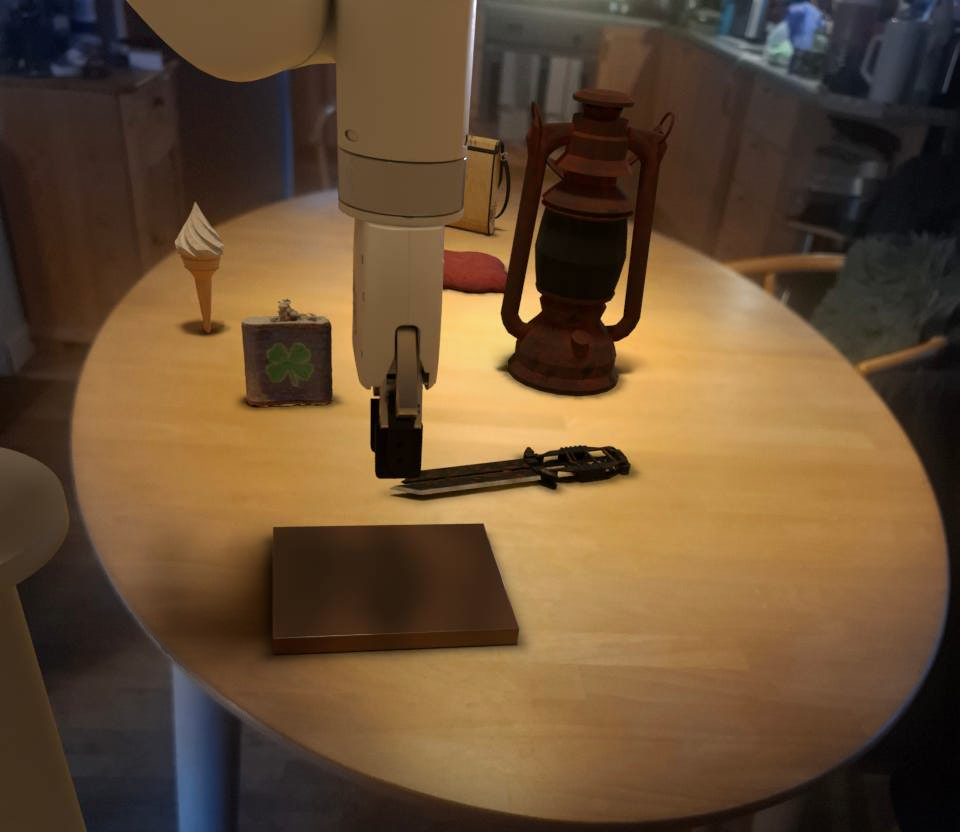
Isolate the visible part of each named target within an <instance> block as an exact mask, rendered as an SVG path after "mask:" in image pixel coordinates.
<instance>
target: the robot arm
mask: <svg viewBox="0 0 960 832" xmlns="http://www.w3.org/2000/svg"><path fill="white" fill-rule="evenodd" d="M125 1H126V2H127V3H128V5H130V7H131V8H132V9H133V10H134V11H135V12H136V13H137V14H138V16H139V17H140V18H141V19H142V20H143V21H144V22H145V24H146V25H148V27H149V28H151V30H152V31H153V32H154V33H155V34H156V35H157V36H158V37H159V38H160V39H161V40H162V41H164V42H165V44H167V45H168V46H169V47H170V48H171V49H172V50H173V51H174V52H175V53H176V54H178V55H179V56H180V57H181V58H183V59H184V60H186V62H188V63H190V64H191V65H193V66H194V67H195V68H197V69H199V70H200V71H202V72H204V73H206V74H208V75H210V76H213V77H215V78H217V79H220V80H224V81H230V82H235V83H247V82H255V81H257V80H262V79H265V78H269V77H271V76H273V75H277V74H279V73H281V72H285V71H289V70H295V69H298V68H303V67H306V66H309V65H320V64H321V65H323V64H335V79H336V80H335V81H336V83H335V84H336V86H335V87H336V88H335V89H336V142H337V143H336V145H337V147H336V148H337V149H336V150H337V197H338V198H337V201H338V202H337V203H338V210H339V211H341V213H342V214H344V215H346V216H348V217H350V218H353V219H354V222H353V223H354V224H353V225H354V226H353V245H352V246H353V247H352V322H351V323H352V327H351V342H352V343H351V344H352V352H353V357H354V363H355V369H356V374H357V379H358V382H359V384H360V385H361V387H363V388H364V389H365V390H367V391H370V390H372V395H373V397H370V399H369V401H370V402H369V403H370V404H369V405H370V408H369V409H370V412H369V414H370V417H369V418H370V419H369V422H370V425H369V428H370V429H369V430H370V431H369V445H370V446H369V447H370V450H371V452H372V453H374V474H375V477H376V478H377V479H378V480H400V479H402V480H404V479H415V478H418V477H420V475H421V470H422V459H423V438H424V424H423V421H422V420H423V394H424V393H423V392H424V391H423V389H425V390H426V391H428V390H430V389H431V388H433V387H434V386H435V384H436V383H437V379H438V372H439V371H438V370H439V361H440V351H441V350H440V347H441V332H442V331H441V330H442V314H443V312H442V311H443V294H444V293H443V292H444V291H443V290H444V288H443V266H444V249H445V226H447V225H448V224H452V223H455V222H457V221H459V220H460V219H461V218H462V217H463V208H464V207H463V205H464V191H465V175H466V160H467V156H466V154H467V144H468V135H469V128H470V127H469V125H470V109H471V94H472V83H473V82H472V81H473V65H474V51H475V36H476V35H475V34H476V20H477V7H478V4H477V3H478V0H125ZM448 226H449V225H448Z"/></svg>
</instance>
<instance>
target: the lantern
mask: <svg viewBox="0 0 960 832" xmlns="http://www.w3.org/2000/svg"><path fill="white" fill-rule="evenodd" d="M572 100H573V101H575V102H578V103H581V106H582V111H579V112H574V113H572V116H571V117H572V118H571V122H570V121H569V122H568V121H567V122H565V121H564V122H545V123H544V118H543V117H542V114H541V109H540V107H539V104H538V102H537V101H536V99H535V100H532V101H531V104H530V109H531V118H532V122H531V124H530V128H529V130H528V131H527V133H526V134H525V142H526V149H527V151H526V152H527V160H526V165H525V170H524V177H523V183H522V188H521V194H520V199H519V204H518V209H517V212H518V213H517V217H516V222H515V229H514V234H513V240H512V244H511V245H512V246H511V250H510V251H511V252H510V258H509V263H508V267H507V279H506V285H505V290H504V292H503V297H502V302H501V308H500V318H501V322H502V325H503V327H504V329H505V331H506V332H507V334H509V335H510V336H512V337H513V338H515V339H516V341H515V346H514V352H513V353H512V354H511V356H510V357H509V358H508V359H507V369H508V370H507V371H508V373H509V374H510V376H512V377H513V379H514V380H516V381H518V382H519V383H521V384H522V385H524V386H527V387H530V388H532V389H535V390H538V391H541V392H546V393H551V394H556V395H561V396H563V395H564V396H575V397H577V396H594V395H597V394H602V393H605V392H608V391H610V390H612V389H613V388H614V387H615V386H616V385H617V382H618V380H619V372H618V369H617V367H616V366H615V365H616V360H617V349H616V345H615V343H617V342H620V341H621V340H624V339H626V338H627V337H629V336H630V334H631V333H633V332H634V330H635V329H636V327H637V325H638V324H639V322H640V319H641V317H642V316H641V315H642V308H643V300H644V292H645V285H646V277H647V270H648V261H649V252H650V246H651V238H652V230H653V223H654V215H655V207H656V199H657V191H658V183H659V175H660V169H661V164H662V162H663V159H664V157H665V154H666V152H667V150H668V148H669V147H668V142H667V139H668V137H669V136H670V134H671V131H672V130H673V127H674V124H675V120H676V115H675V114H676V113H675V112H674V111H673V110H668V111H667V112H666V113H665V114H664V115H663V116H662V118H661V119H660V121H659V123H658V124H657V125H656V126H655V127H654V128H653V130H650V129H644V128H639V127H634V126H629V124H630V120H629V119H628V118H626V117H622V116H621V115H622V113H623V111H624V109H629V108H634V107H635V104H636V100H635V99H634V98H632V97H631V96H630V95H628V94H627V93H625V92H621V91H618V90H613V89H612V90H611V89H605V88H593V87H592V88H590V87H587V88H582V89H580V90H578V91H576V92H574V93H572ZM669 116H670V117H671V118H670V122H669V126H668V129H667V131H666V133H664V129H663V125H664V122H665V121H666V119H667V118H668V117H669ZM564 146H565V149H564V151H563V152H562V153H561V154H560V156H558V158H556V159H554V158H552V157H550V156H551V155H552V154H553V153H554V152H555V151H556V150H558V149H560V148H562V147H564ZM628 151H630V152H631V153H633V154H632V155H631V156H630V157H628V158H627V153H628ZM638 161H639V162H640V168H639V174H638V175H639V176H638V186H637V193H636V201H635V202H636V203H635V204H634V203H633V201H632V200H631V198H630V197H629V195H628V194H627V193H626V192H625V191H624V189H622V187H620V186H619V185H618V179H619V177H620V178H621V177H627V176H628V177H629V176H631V175H633V173H634V172H633V169H632V167H631V166H633V165H634V164H635V163H637V162H638ZM547 166H548V168H549V169H551V171H552V172H554V174H556V175H557V176H558V177H559V179H560V181H558V182H556V183H555V184H553V185H552V186H550V187H549V188H547V190H546V191H544V192H543V193H542V190H543V185H544V180H545V175H546V169H547ZM541 197H542V199H541ZM540 202H541V205H542V206H544V210H543V213H542V216H541V219H540V223H539V226H538V230H537V235H536V239H535V243H534V271H535V273H534V274H535V283H534V285H535V289H536V291H537V292H538V293H539V294H540V296H539V303H540V308H541V311H540V312H539V313H537V314H536V315H535V316H534V317H533V318H531V319H529V320H528V322H526V321H525V322H524V321H523V320H522V318H521V317H520V315H519V313H520V309H521V308H520V307H521V304H522V303H521V301H522V297H523V292H524V286H525V281H526V276H527V271H528V266H529V259H530V255H531V251H532V250H531V249H532V245H533V239H534V234H535V228H536V223H537V218H538V217H537V216H538V212H539V206H540ZM634 209H635V211H634ZM633 215H634V219H633V227H632V237H631V245H630V251H629V252H630V254H629V262H628V270H627V278H626V286H625V287H626V288H625V294H624V295H625V296H624V305H623V306H624V307H623V312H622V313H623V314H622V317H621V319H619V321H618V322H617V323H615V324H611V325H610V324H609V325H605V323H604V322H603V320H602V317H603V315H604V313H605V312H606V310H607V307H608V306H607V303H609V302H611V301H612V300H613V298H614V296H615V295H616V289H617V286H618V283H619V280H620V278H621V275H622V272H623V269H624V266H625V262H626V259H627V250H628V234H629V233H628V232H629V231H628V230H629V229H628V226H629V225H628V221H629V219H628V218H630V217H632V216H633Z"/></svg>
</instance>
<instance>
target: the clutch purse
mask: <svg viewBox="0 0 960 832" xmlns="http://www.w3.org/2000/svg"><path fill="white" fill-rule="evenodd" d="M505 154H506V157H505ZM508 154H509V153H508V152H507V151H505V143H504V141H503V140H499V139H493V138H487V137H482V136H476V135H472V134H468V144H467V154H466V156H467V160H466V175H465V191H464V205H463V207H464V208H463V217H462V218H461V219H460V220H459V221H457V222H455V223H452V224H448V226H452V227H457V228H462V229H466V230H470V231H475V232H479V233H484V234H488V235H489V236H490V235H492V234H493V231H494V228H495V223H496V219H499V218H500V217H501V216H502V215H503V214H504V213H505V211H506V210H507V207H508V204H509V200H510V196H511V170H510V166H509V162H508V160H507V159H508V157H509V155H508ZM504 172H505V181H506V183H505V184H506V185H505V186H506V187H505V188H506V189H505V197H504V203H503V205H502V208H501V210H500V212H499V213H498V214H497V205H498V193H499V189H500V187H501V185H502V182H503V176H504V175H503V174H504Z"/></svg>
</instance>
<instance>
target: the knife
mask: <svg viewBox="0 0 960 832" xmlns="http://www.w3.org/2000/svg"><path fill="white" fill-rule="evenodd" d="M600 451H601V453H602V454H604V455H599V456H595V455H592V454H591V453H592V452H600ZM549 457H557V458H554V459H547V460H545V458H549ZM590 462H591V463H590ZM560 465H563V466H562V467H556V468H555V467H554V468H548V467H551V466H552V467H553V466H560ZM630 471H631V463H630V462H629V460H628V457H627V456H626V454H625V453H624V452H623V451H622V450H621V449H619V448H616V447H615V446H612V445H606V446H600V447H599V446H587V445H586V444H585V445H581V444H579V445H573V446H572V445H569V446H564V447H563V446H561V447H560V448H558V449H552V450H548V451H546V452H544V453H536V452H535V450H533V449H532V448H531V446H527V447H526V448H525V450H524V452H523V457H522V458H515V459H507V460H496V461H490V462H489V461H488V462H481V463H480V462H479V463H473V464H464V465H455V466H446V467H437V468H430V469H429V468H428V469H421V475H420V477H418V478H415V479H402V480H401V481H400V484H398V485H397V484H396V485H393V486H392V487H390V488H389V490H391V491H398V492H403V493H409V494H414V495H421V496H425V495H432V494H440V493H447V492H454V491H455V492H457V491H462V490H463V491H464V490H470V489H478V488H480V489H481V488H486V487H494V486H502V485H509V484H519V483H526V482H533V481H537V482H538V483H539V485H540V486H543V487H546V488H549V489H552V490H556V489H557V488H558V484H557V483H556V482H560V483H561V482H563V483H571V482H580V483H581V484H582V483H585V482H586V483H589V482H594V481H596V482H597V481H602V480H605V479H610V478H611V477H613V476H616V475H617V474H625V473H627V474H628V473H629V472H630ZM559 472H560V473H573V474H574V475H565V476H559V475H558V474H559Z"/></svg>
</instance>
